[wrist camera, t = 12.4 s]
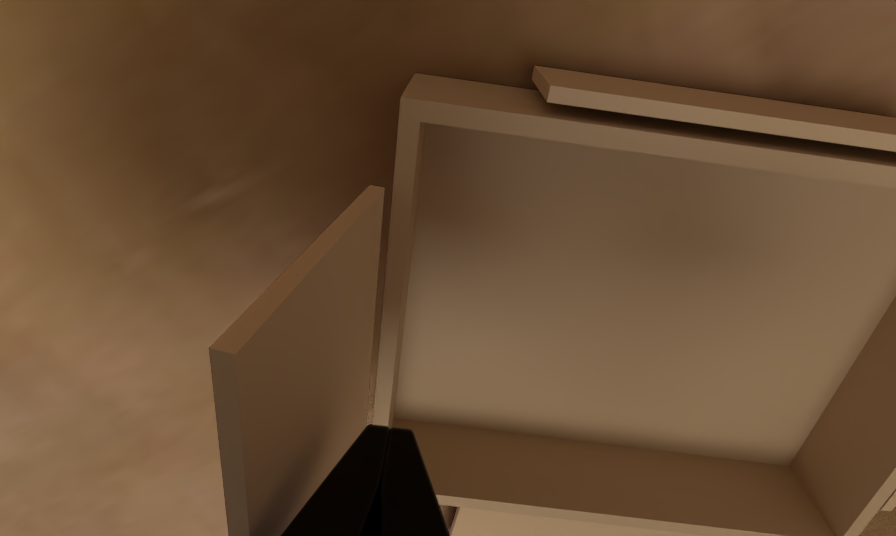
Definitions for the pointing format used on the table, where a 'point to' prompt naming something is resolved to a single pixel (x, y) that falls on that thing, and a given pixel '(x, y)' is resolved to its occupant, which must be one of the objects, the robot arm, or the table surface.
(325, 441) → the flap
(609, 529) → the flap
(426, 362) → the carton
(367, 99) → the table surface
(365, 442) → the robot arm
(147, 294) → the table surface
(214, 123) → the table surface
